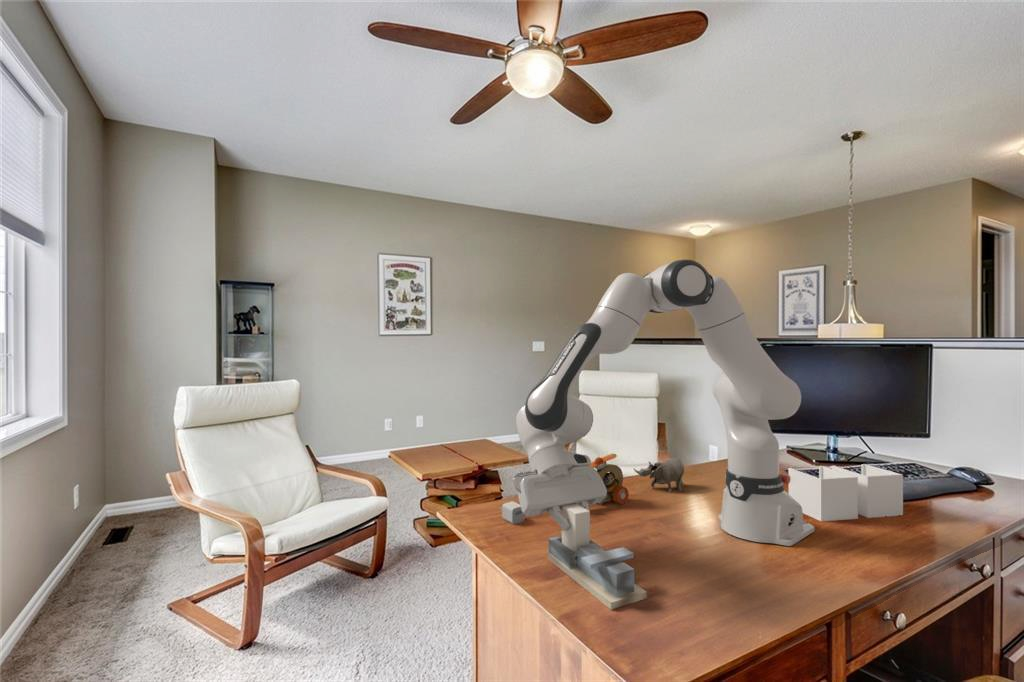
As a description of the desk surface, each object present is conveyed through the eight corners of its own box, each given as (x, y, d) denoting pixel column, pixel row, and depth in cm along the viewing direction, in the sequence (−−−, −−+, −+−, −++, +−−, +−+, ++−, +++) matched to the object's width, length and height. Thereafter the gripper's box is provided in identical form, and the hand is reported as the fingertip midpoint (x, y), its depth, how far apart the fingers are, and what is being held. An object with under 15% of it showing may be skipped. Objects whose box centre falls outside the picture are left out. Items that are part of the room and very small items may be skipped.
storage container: (821, 522, 119) (821, 479, 119) (788, 507, 129) (788, 467, 129) (902, 516, 123) (902, 474, 123) (864, 502, 134) (864, 464, 134)
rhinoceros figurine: (703, 481, 144) (676, 443, 143) (673, 511, 140) (646, 472, 139) (687, 476, 151) (661, 440, 150) (658, 505, 148) (632, 468, 146)
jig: (582, 550, 102) (582, 522, 102) (651, 596, 83) (651, 563, 83) (543, 559, 97) (543, 530, 97) (606, 611, 79) (606, 575, 79)
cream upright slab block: (575, 541, 99) (575, 503, 99) (589, 550, 94) (589, 511, 94) (561, 544, 97) (561, 506, 97) (575, 553, 93) (575, 513, 93)
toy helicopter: (631, 502, 133) (631, 454, 133) (575, 516, 122) (575, 464, 122) (611, 494, 139) (611, 448, 140) (556, 507, 128) (556, 457, 128)
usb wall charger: (512, 524, 116) (512, 508, 116) (496, 516, 122) (496, 501, 122) (524, 521, 119) (524, 505, 119) (508, 513, 124) (508, 498, 124)
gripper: (515, 465, 97) (538, 529, 88) (594, 455, 106) (622, 511, 98) (506, 481, 101) (527, 543, 92) (583, 469, 110) (609, 525, 102)
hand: (577, 527), depth 95 cm, fingers closed on cream upright slab block, 3 cm apart
